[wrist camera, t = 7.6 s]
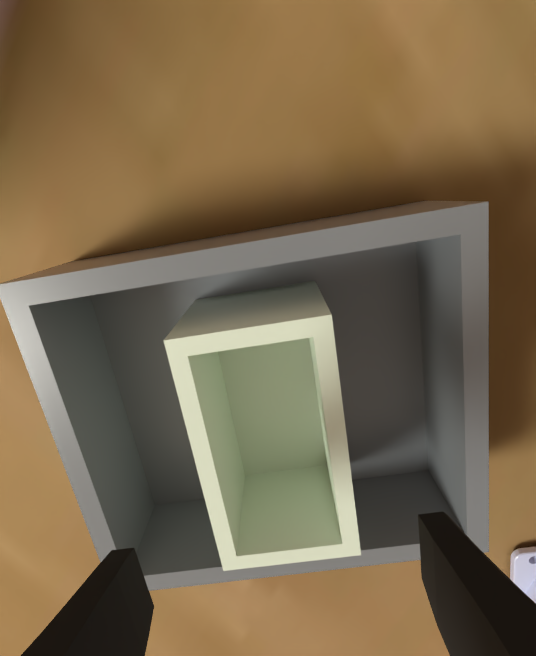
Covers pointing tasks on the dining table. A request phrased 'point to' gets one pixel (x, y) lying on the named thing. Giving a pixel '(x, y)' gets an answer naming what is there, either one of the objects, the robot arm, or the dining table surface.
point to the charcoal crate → (353, 364)
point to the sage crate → (267, 425)
